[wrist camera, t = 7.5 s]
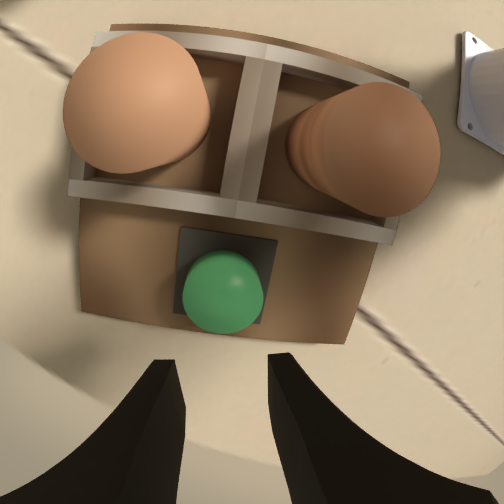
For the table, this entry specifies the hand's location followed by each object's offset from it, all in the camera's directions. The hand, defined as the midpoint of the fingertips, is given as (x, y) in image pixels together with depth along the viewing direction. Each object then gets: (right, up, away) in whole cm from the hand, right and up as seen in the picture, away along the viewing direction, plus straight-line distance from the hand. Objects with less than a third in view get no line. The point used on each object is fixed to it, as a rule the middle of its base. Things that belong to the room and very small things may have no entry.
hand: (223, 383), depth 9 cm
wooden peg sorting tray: (0, +7, +7) cm, 10 cm away
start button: (-1, +2, +7) cm, 7 cm away
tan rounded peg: (-3, +10, +5) cm, 12 cm away
